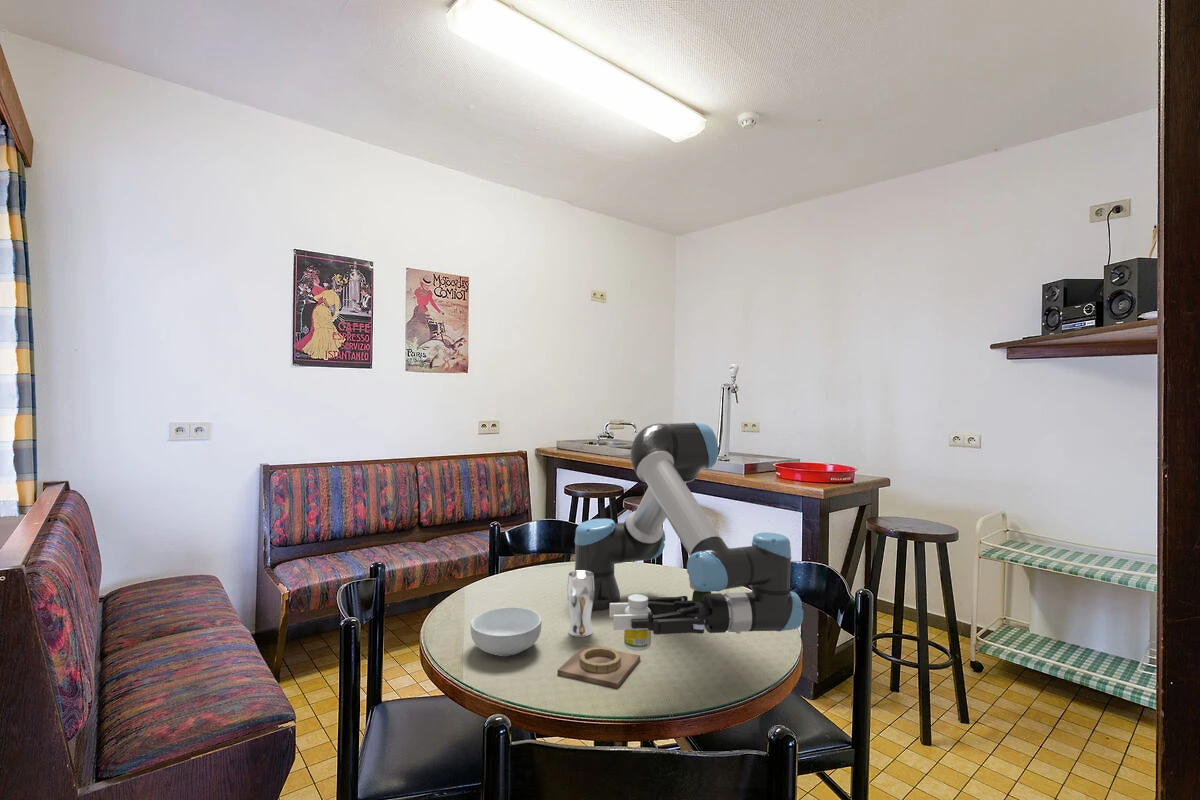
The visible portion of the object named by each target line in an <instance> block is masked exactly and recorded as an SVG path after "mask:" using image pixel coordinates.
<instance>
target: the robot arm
mask: <svg viewBox="0 0 1200 800" xmlns="http://www.w3.org/2000/svg"><path fill="white" fill-rule="evenodd" d="M631 444H632V445H631V448H630V463H631V466H632V468H633V470H634V472H635V474H636V476H637V478H638V479H639V480H640V481H641V482H643V483H646V484H647V486H648V487H647V488H646V491H645V492H644V493H643V494H644V495H643V497H642V499H641V501H640V503H639V504H638V506H637V508H636V510H634V511H632V512H630V513H629V514H628V515H627V516H626V518H625V520H624V522H618V523H615V520H613V519H611V518H593V519H589V520H586V521H583V522H581V523H579V525H577V527H576V528H575V535H574V536H575V537H574V549H575V550H574V571H576V570H586V571H590V572H593V573H594V588H595V591H594V602H593V607H592V611H595V610H596V611H599V610H606V609H607V610H608V609H609V618H611V619H612V618H613V631H624V630H632V629H647V628H648V630H650V631H651V632H652V633H653V634H654V635H675V634H690V633H691V634H704V633H705V630H706V631H707V632H708V633H710V634H719V633H720V634H723V633H724V634H725V633H726V632H728V633H736V634H738V635H740V634H741V633H742V632H744V633H745V632H785V631H791V630H796V629H799V628H800V627H801V625H802V623H803V620H804V610H803V603H802V600H801V598H800V596H799V595H798V594H797V592H795V591H791V567H792V566H791V563H792V551H791V549H792V548H791V542H790V541H791V540H789V538H788V537H787V536H785V535H783V534H781V533H776V532H758V533H755V534H754V535H753V536H752V542H751V545H749V546H743V547H740V546H739V547H732V548H729V546H728V545H727V544H726V543H725V541H724V539H723V538H722V536H721V535H720V534H719V532H718V531H717V529H716V527H715V526H714V525H713V523H712V522H711V520H710V518H709V517H708V516H707V514H706V513H705V511H704V510H703V508H702V507H701V505H700V503H699V502H698V500H697V499H696V497H695V496H694V495H693V493H692V492H691V490H690V489H689V486H687V483H690V482H692V481H695V479H696V478H697V477H698V475H699V473H700V472H701V470H702V469H709V468H713V466H714V465H716V463H717V461H718V457H719V443H718V439H717V436H716V434H715V431H714V430H713V429H712V427H710V426H709V425H708V424H706V423H699V422H698V423H697V422H687V423H686V422H685V423H684V422H681V423H653V424H650V425H647V426H646V427H644V428H642V429H641V430H640V431H638V434H636V436H635V437H634V440H633V442H632V443H631ZM666 520H667V521H668V522H669V523H670V525H671V527H672V528H673V530H674V532H675V533H676V535H677V536H678V539H679V541H680V542H681V544H682V545H683V547H684V548H685V550H686V552H687V554H688V555H689V557H688V559H687V562H686V574H687V575H688V581H689V584H690V583H691V584H692V586H693V587H694V588H695V589H696V590H698V591H701V592H710V591H711V592H714V593H712V594H705V595H704V597H703V600H702V601H701V602H695V601H692V599H691V600H688V599H689V598H688V595H681V596H680V595H679V596H662V597H661V596H657V597H656V596H652V597H648V596H647V597H648V606H647V607H648V608H649V609H650V610H651V613H650V612H649V613H648V618H647V614H625V609H626V607H628V606H629V605H628V602H620V601H621V593H620V589H619V584H618V583H617V579H616V576H615V564H622V563H623V564H624V563H631V562H632V563H633V562H641V561H650V560H654V559H656V558H658V557H659V556H660V555H662V553H663V551H664V549H665V541H666V532H665V529H664V527H663V525H664V523H665V521H666ZM750 586H751V588H752V589H751V591H750V592H748V591H747V592H743V591H742V592H738V591H737V592H725V593H724V594H723V593H718V592H721V591H723V590H729V589H736V588H741V587H742V588H743V587H744V588H745V587H750ZM716 592H717V593H716Z"/></svg>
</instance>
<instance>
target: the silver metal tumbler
mask: <svg viewBox="0 0 1200 800" xmlns="http://www.w3.org/2000/svg"><path fill="white" fill-rule="evenodd" d="M567 575H568V577H567V584H566V585H567V587H566V590H567V591H566V593H567V594H566V595H567V603H568V610H569V615H570V621H569V628H568V634H569V635H570V636H571V635H572V637H574V636H575V638H586V637H589V635H590V636H591V635H592V634H593V627H592V612H593V610H592V607H593V602H594V591H595V588H594V573H593V572H590V571H586V570H576V571H575V570H572V571H570V572H568V574H567Z"/></svg>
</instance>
